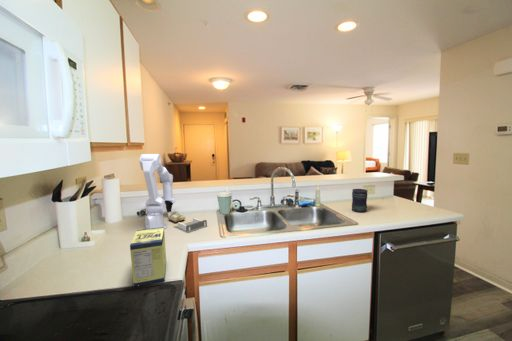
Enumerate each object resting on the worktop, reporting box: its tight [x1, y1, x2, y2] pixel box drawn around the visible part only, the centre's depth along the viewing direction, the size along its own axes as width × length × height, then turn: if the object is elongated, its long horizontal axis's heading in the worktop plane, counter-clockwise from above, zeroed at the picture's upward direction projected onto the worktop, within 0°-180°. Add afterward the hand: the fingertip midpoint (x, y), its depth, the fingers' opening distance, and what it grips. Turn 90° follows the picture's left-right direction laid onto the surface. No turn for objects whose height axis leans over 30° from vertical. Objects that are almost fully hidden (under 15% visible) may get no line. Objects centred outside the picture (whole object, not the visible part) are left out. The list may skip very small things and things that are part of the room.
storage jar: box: [351, 188, 368, 214], centre depth 165 cm, size 10×10×15 cm
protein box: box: [129, 227, 167, 287], centre depth 90 cm, size 10×16×16 cm
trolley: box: [167, 210, 186, 224], centre depth 150 cm, size 7×9×5 cm
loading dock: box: [172, 217, 208, 234], centre depth 141 cm, size 13×17×5 cm
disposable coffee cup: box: [216, 190, 233, 215], centre depth 165 cm, size 11×11×15 cm
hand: (169, 211), depth 157 cm, fingers closed
